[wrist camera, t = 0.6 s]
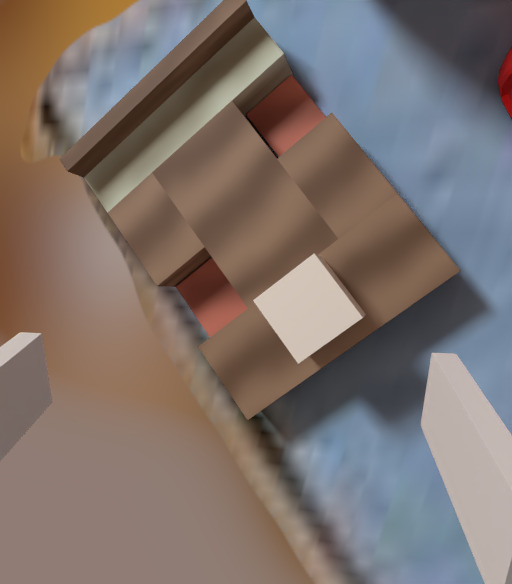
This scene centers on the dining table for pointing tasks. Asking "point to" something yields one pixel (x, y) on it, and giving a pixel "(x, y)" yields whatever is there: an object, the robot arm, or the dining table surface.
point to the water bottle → (506, 82)
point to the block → (309, 307)
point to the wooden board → (251, 200)
